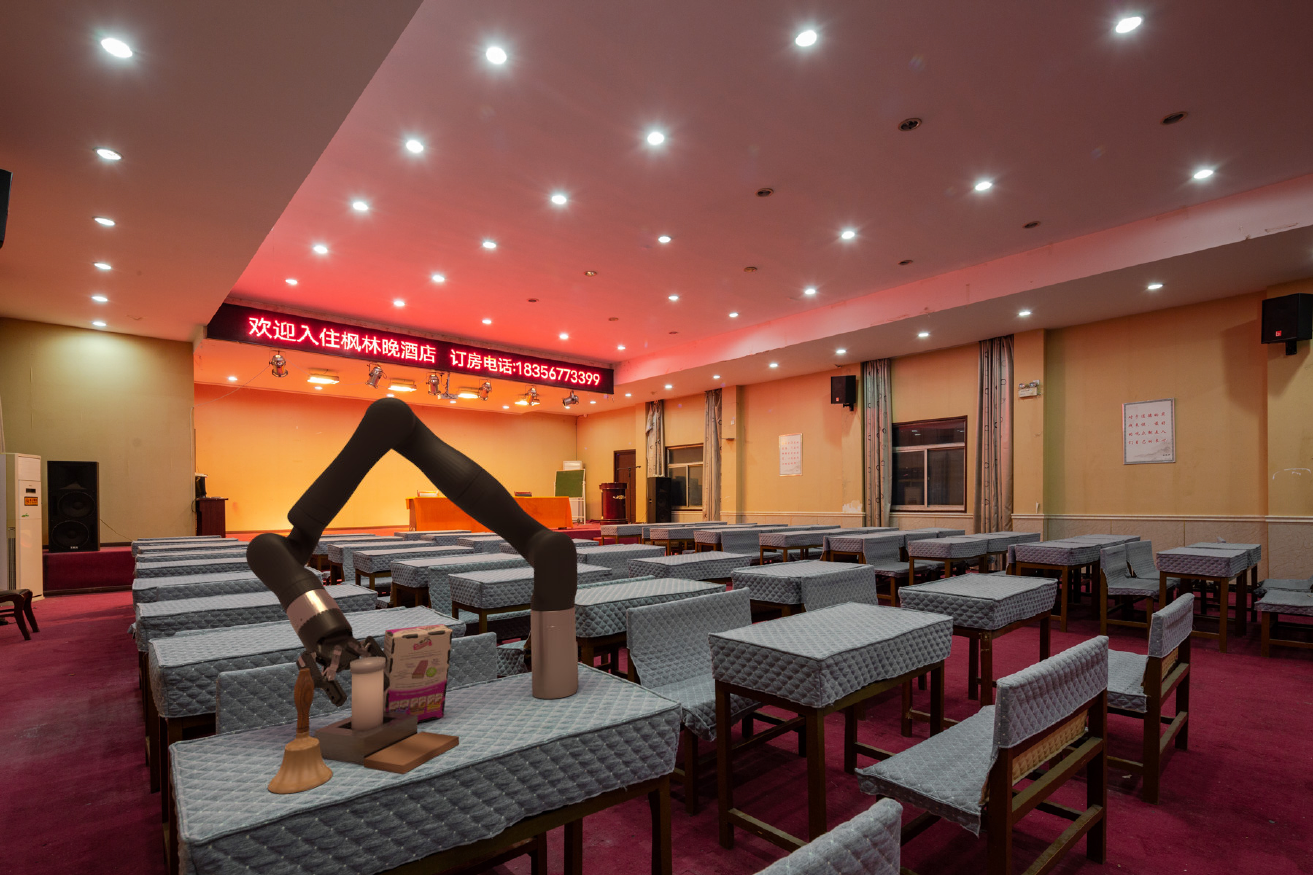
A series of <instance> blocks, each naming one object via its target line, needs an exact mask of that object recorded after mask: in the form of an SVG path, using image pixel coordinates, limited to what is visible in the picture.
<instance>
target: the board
mask: <svg viewBox="0 0 1313 875" xmlns="http://www.w3.org/2000/svg"><path fill="white" fill-rule="evenodd" d="M459 744H460V736H457V735H452V734H451V735H449V734H443V733H435V732H430V731H420V732H417V734H415V735H413V736H411V737H409V738H407V739H405V740H403V741H401V742H398V743H396V744H394V745H392V746H390V747H388V748H386V749H384V750H381V751H379V752H377V753H375V754H373V755H371V756H369V757H367V758H365V759H364V765H363V768H367V769H373V770H379V771H386V772H391V773H394V774H395V773H396V774H402V775H404V774H406V773H408V772H409V771H411V770H414V769H416V768H417V767H420V766H421V765H423V764H424V763H426V762H428V761H430V760H432V759H434V758H436V757H438V756H439V755H441V754H443V753H445V752H447V751H449V750H451V749H452V748H455V747H457V746H458V745H459Z"/></svg>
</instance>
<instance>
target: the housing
mask: <svg viewBox="0 0 1313 875" xmlns="http://www.w3.org/2000/svg"><path fill="white" fill-rule="evenodd" d="M351 719H352V715H351V716H348V717H346V718H343V719H341V720H338V721H336V722H333V723H331V724H328V725H325V726H324V727H320V728H317V729H315V730H314V734H313V735H314V737H313V738H316V739H318V740H319V744H320V752H321V756H322V759H325V760H326V759H327V760H332V761H338V762H342V763H350V764H355V765H360V766H364V759H365V758H367V757H369V756H371V755H373V754H375V753H377V752H379V751H381V750H384V749H386V748H388V747H390V746H392V745H394V744H396V743H398V742H401V741H403V740H405V739H407V738H409V737H411V736H413V735H415V734H417V733H418V722H417V715H413V714H405V713H397V712H389V711H383V725H380V726H378V727H376V728H373V729H371V730H368V731H366V732H364V731H357V730H351Z"/></svg>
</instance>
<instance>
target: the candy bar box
mask: <svg viewBox="0 0 1313 875" xmlns="http://www.w3.org/2000/svg"><path fill="white" fill-rule="evenodd" d="M383 640H384V641H383V649H382V650H383V652H384V653H385V654H386V656H387V660H388V661H387V662H386V663H385V668H384V669H383V670H384V672H385V674H386V675H387V677H388V678H389V680H390V685H389V687H388V688H387V689H386V691H384V692H383V711H389V712H397V713H405V714H413V715H417V723H420V722H426V721H430V720H436V719H441V718H444V714H445V705H446V696H447V688H448V686H447V685H448V677H449V669H450V660H451V659H450V658H451V652H452V642H453V629H452V628H449V626H447V625H446V624H444V623H442V624H429V625H422V626H411V627H402V628H395V629H386V630H385V631H384V638H383Z"/></svg>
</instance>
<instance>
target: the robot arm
mask: <svg viewBox="0 0 1313 875" xmlns="http://www.w3.org/2000/svg"><path fill="white" fill-rule="evenodd" d="M365 410H366V411H365V412H364V415H363V416H362V418H361V421H360V422H359V424H358V426H357V427H356V429H355V430H354V432H353V433H352V435H351V437H350V438H349V440H348V441H347V443H346V444H345V445H344V447H342V450H341V451H339V453H338V454H337V456H336V457H335V458H334V459H333V461H331V462H330V463H329V465H328V466H327V467H326V468H325V469H324V471H323V472H321V474H319V476H318V477H317V478H316V479H315V480H314V481H313V482H312V484H311V485H310V486H309V487H308V488H307V489H306V490H305V492H304V493H302V494H301V496H300V497H299V499H297V501H296V502H295V503H294V504H293V505H292V507H291V508H290V509H289V511H288V512H287V516H286V519H287V520H288V522H289V524H290V525H292V528H291V530H290V533H289V534H288V535H287V536H286V535H285V536H284V535H282V534H279V533H276V532H275V533H274V532H265V533H264V532H263V533H259V534H258V535H256V536H255V537H253V538H252V539H251V540H250V541H249V543H248V545H247V547H246V552H245V558H246V559H245V560H246V563H247V566H248V568H249V569H250V570H251V572H252V573H253V574H254V575H255V576H256V578H257V579H258V580H259V581H261V583H262V584H263V585H264V586H265V587H266V588H268V590H269V591H271V592H272V593H273V594H274V595H275V597H276V598H277V599H278V602H279V603H280V606H281V607H282V608H283V610H284V612H285V613H286V616H287V617H288V620H289V622H290V626H291V627H292V628H293V630H294V632H295V634H296V636H297V637H298V639H299V640H300V642H301V643H302V645H303V647H304V648H305V650H304V651H303V652H302V653H301V655H300V656H299V657H298V659H297V660H296V662H295V665H296V667H297V670H299V672H300V669H304V668H309V669H310V674H311V677H312V679H313V683H314V690H315V689H320V690H321V691H324V692H325V694H326V696H327V698H328V699H329V701H330V702H331V703H332V705H335V707H336V708H339V707H342V706H343V705H344V704H345V703H346V701H347V700H348V695H347V694H346V692H345V691H344V688H343V686H341V684H340V682H339V681H338V680H337V679H336V674H338V673H341V672H343V671H350V662H352V661H354V660H357V659H361V658H367V657H384V658H385V663H386V662H387V661H388V660H387V656H386V654H385V653H384V652H383V649H382V648H381V646H380V644H378V642H377V640H376V639H375V638H374V637H373V635H368V636H367V637H366V638H365V639H363V640H358V639H356V637H355V636H354V633H353V627H352V625H351V624H350V622H349V621H348V619H347V617H346V616H345V615H344V612H343V610H341V608H340V607H339V605H338V604H337V601H336V600H335V599H334V597H332V595H331V594H329V592H328V590H327V589H326V588H325V586H324V585H323V583H322V581H321V580H320V579H319V576H318V575H317V574H315V572H313V571H312V570H310V569H309V568H306V567H305V566H306V565H307V564H308V562H310V559H312V556H313V554H314V552H315V550H316V549H317V548H316V547H317V545H318V543H319V542H320V540H321V537H322V535H323V532H324V531H325V529H326V528H327V527H328V526H329V525H330V524H331V523H332V521H333V520H334V519H335V517H336V516H337V515H338V514H339V513H340V511H341V510H342V509H343V508H344V506H346V504H347V503H348V501H349V500H350V499H351V497H352V496H353V494H354V493H355V491H356V490H358V487H359V485H360V484H361V482H362V481H363V480H364V479H365V477H366V476H367V474H369V472H370V471H371V470H372V469H373V468H374V466H375V465H376V464H377V463H378V462H379V461H380V460H381V459H382V458H383V457H384V456H385V455H386V454H388V452H390V450H393V451H394V452H395V453H397V454H399V455H400V456H401V457H403V458H405V459H406V460H407V461H409V462H410V463H412V464H413V465H414V466H415V467H416V468H417V469H418V470H420V471H421V473H422V474H423V475H424V476H425V477H426V479H428V481H430V482H431V484H432V485H434V487H435V489H437V490H439V492H440V493H441V494H442V495H443V496H444V497H446V499H448V500H449V501H450V502H451V503H453V504H454V505H455V506H456V507H458V508H459V509H460V510H461V511H462V512H464V513H465V514H466V515H467V516H469V517H470V518H471V519H474V521H476V522H477V523H479V524H480V525H482V526H483V527H485V528H486V529H488V530H489V531H491V532H493V533H495V534H496V535H497V536H499V537H500V538H502V540H504V541H505V542H507V543H508V544H509V545H510V546H511V547H512V549H514V550H515V551H516V552H517V553H518V554H519V555H520V556H521V558H523V559H524V560H525V561H526V563H528V564H529V566H530V567H531V568H532V569H533V590H532V594H531V596H530V640H531V641H530V642H531V647H530V648H531V689H532V691H531V692H532V693H531V694H532V696H533V697H534V698H538V699H546V700H548V699H549V700H551V699H560V698H566V697H570V696H573V695H574V694H576V692H577V691H578V688H579V657H578V654H579V653H578V651H579V650H578V641H576V640H577V639H576V638H577V637H576V634H577V633H576V597H577V592H578V552H577V546H576V543H575V542H574V539H572V537H571V536H569V535H568V534H566V533H564V532H561V531H555V530H552V529H550V528H549V527H547V526H545V525H544V524H542V523H541V522H539V521H538V520H536V519H535V518H534V517H533V516H532V515H531V514H529V513H527V511H526V510H524V509H523V508H522V507H521V505H520V504H519V503H518V502H517V500H516V499H515V497H514V496H513V495H512V494H511V493H510V492H509V490H508V489H507V488H506V487H505V486H504V485H503V483H501V481H499V480H498V479H497V478H496V477H494V475H492V474H491V473H490V472H489V471H487V470H486V469H485V468H483V466H481V465H480V464H479V463H477V462H476V461H474V459H472V458H470V457H468V456H467V455H466V454H465V453H463V452H461V451H460V450H458V449H456V448H454V447H453V446H452V445H449V444H448V443H446V442H445V441H444V440H443V439H441V438H440V437H439V436H438V435H436V434H435V433H434V431H432V430H431V429H430V428H429V427H428V426H427V424H425V423H424V422H423V421H422V420H421V419H420V418H419V417H418V416H417V415H416V413H415V412H414V411H413V409H412V408H411V406H410V405H409V404H408V403H407V402H405V401H403V400H402V399H400V398H397V397H382V398H379V399H377V400H375V401H373V402H372V403H371V404H369V406H368V407H367V408H366V409H365ZM318 665H319V666H321V667H322V669H321V670H320V668H319V666H318ZM335 679H336V680H335ZM389 685H390V680H389V678H388V677H387V675H386V674H385V672H384V670H383V692H384V691H386V689H387V688H388V687H389Z"/></svg>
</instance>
